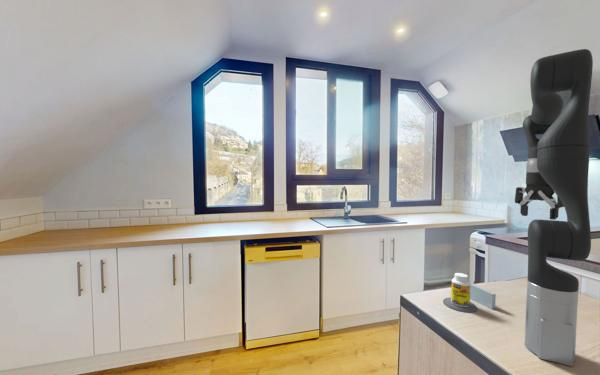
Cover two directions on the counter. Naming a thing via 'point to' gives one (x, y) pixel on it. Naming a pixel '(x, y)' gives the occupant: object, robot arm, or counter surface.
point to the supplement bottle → (460, 290)
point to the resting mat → (463, 309)
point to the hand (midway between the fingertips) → (538, 217)
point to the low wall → (483, 296)
